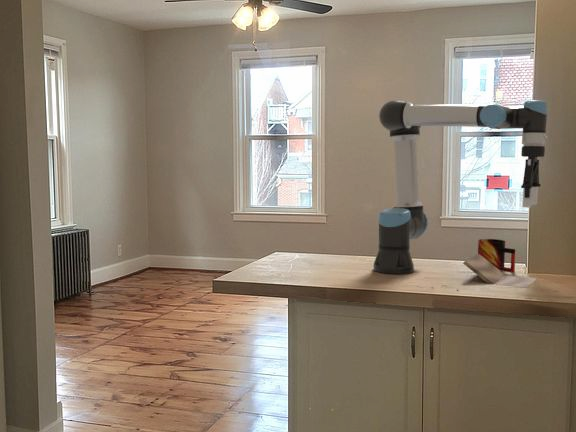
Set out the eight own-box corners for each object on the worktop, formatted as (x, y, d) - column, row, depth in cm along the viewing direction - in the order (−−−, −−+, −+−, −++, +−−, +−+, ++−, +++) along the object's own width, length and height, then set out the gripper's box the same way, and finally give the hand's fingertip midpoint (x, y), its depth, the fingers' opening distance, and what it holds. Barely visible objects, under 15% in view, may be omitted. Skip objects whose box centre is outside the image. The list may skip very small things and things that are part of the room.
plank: (463, 263, 205) (465, 260, 205) (476, 256, 220) (478, 253, 220) (492, 286, 201) (494, 284, 200) (503, 277, 216) (506, 275, 215)
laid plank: (495, 287, 200) (495, 284, 200) (506, 278, 215) (506, 275, 215) (527, 291, 195) (527, 287, 195) (536, 281, 210) (537, 278, 210)
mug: (514, 276, 221) (515, 243, 220) (475, 273, 228) (476, 241, 227) (517, 272, 230) (518, 240, 229) (479, 268, 236) (480, 238, 235)
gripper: (539, 144, 199) (535, 209, 201) (549, 146, 221) (546, 204, 223) (515, 144, 203) (512, 207, 205) (527, 146, 224) (524, 203, 227)
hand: (530, 206), depth 214 cm, fingers open, 13 cm apart
